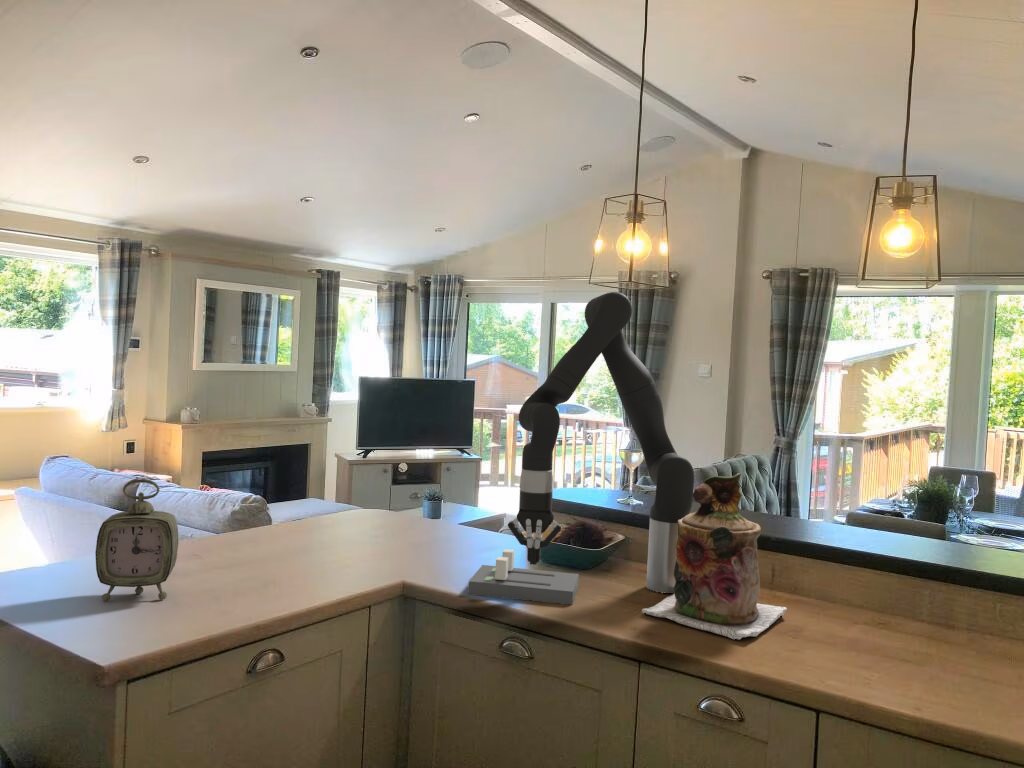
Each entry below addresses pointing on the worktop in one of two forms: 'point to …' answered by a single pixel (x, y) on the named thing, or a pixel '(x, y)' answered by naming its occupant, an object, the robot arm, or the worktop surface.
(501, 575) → the block
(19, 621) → the worktop surface
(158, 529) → the tabletop clock
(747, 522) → the cookie jar
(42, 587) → the worktop surface
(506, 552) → the block
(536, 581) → the slider control panel
